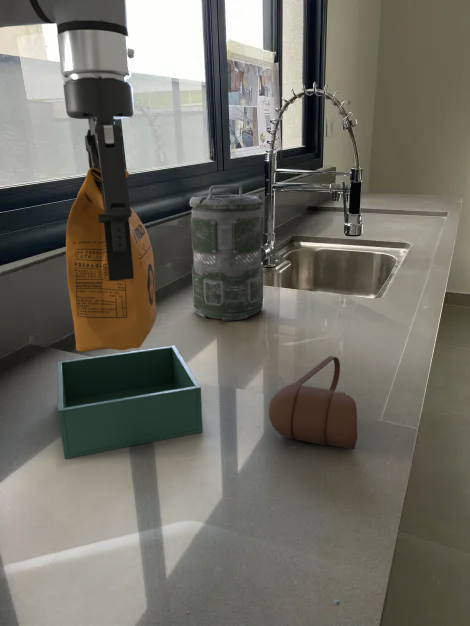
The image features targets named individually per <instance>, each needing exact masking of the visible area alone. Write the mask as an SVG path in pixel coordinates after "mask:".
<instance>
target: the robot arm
mask: <svg viewBox="0 0 470 626" xmlns="http://www.w3.org/2000/svg"><path fill="white" fill-rule="evenodd" d="M54 24H55V25H56V31H57V36H56V37H57V45H58V54H59V55H58V56H59V64H60V73H61V75H62V76H63V77H64V78H67V81H66V80H65V82H64V84H63V93H64V103H65V111H66V115H67V116H68V117H69V118H70V119H71V118H72V119H77V120H89V127H90V129H87V132H86V135H84V145H85V151H86V152H87V162H88V167H89V169H90V168H92V167H93V168H97V169H99V170H100V171H101V175H100V174H99V176H100V177H101V178H102V180H100V189H101V194H102V202H103V208H104V214H98V222H99V223H104V233H105V243H106V254H107V264H108V274H109V281H114V280H125V279H134V275H133V262H132V250H131V238H130V226H129V218H130V217H131V214H132V210H131V209H130V207H131V203H130V196H129V189H128V181H127V178H126V173H125V169H126V167H125V159H124V153H123V152H124V151H123V147H124V146H123V145H124V141H123V136H122V132H123V131H122V127H121V125H120V123H119V124H118V123H116V124H115V120H124V119H130V118H132V117H133V116H134V114H135V106H134V105H135V104H134V93H133V91H134V90H133V85H132V84H131V82H128V81H127V79H129V78H130V77H131V75H132V72H131V61H130V59H134V58H135V57H136V54H135V53H136V51H135V50H134V49H132V48H128V45H129V31H128V15H127V0H0V28H8V27H21V26H34V25H35V26H36V25H54Z"/></svg>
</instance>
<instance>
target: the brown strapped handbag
mask: <svg viewBox="0 0 470 626" xmlns="http://www.w3.org/2000/svg"><path fill="white" fill-rule="evenodd" d="M332 361H333V363H334V367H333V368H334V369H333V377H332V381H331V385H330V387H329V389H328V388H322V387H316V386H311V385H310V386H309V385H304V384H305V383H306V382H307V381H309V379H311V378H312V377H313V376H315V375H316V374H317V373H318V372H320V371H321V370H322V369H323V368H325V367H326V366H327V365H328V364H330V362H332ZM340 373H341V363H340V359H339V357H337V356H333V355H329V356H328V357H326V358H325V359H324V360H322V361H321V362H320V363H318V364H317V365H316V366H315V367H313V368H312V369H311V370H310V371H309V372H307V373H305V374H304V375H303V376H302V377H300V378H299V379H298V380H297V381H296V382H292V383H290V384H287V385H284V386H283V387H282V388H280V389H278V390H277V391H276V392H275V394H274V395H273V396H272V397H271V399H270V402H269V405H268V418H269V421H270V423H271V425H272V427H273V429H274V430H275V431H276V432H277V433H278V434H280V436H282V437H285V438H286V439H289V440H293V441H294V440H298V441H303V442H307V443H312V444H316V445H317V444H318V445H322V446H327V445H330V446H334V447H339V448H345V449H349V450H355V448H356V446H357V445H356V444H357V441H358V411H357V404H356V401H355V399H354V398H352V397H351V396H350V395H348V394H346V392H342V391H336V389H337V386H338V383H339V379H340Z"/></svg>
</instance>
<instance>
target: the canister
mask: <svg viewBox="0 0 470 626" xmlns="http://www.w3.org/2000/svg"><path fill="white" fill-rule="evenodd" d="M215 189H238V194H233V193H232V192H226V193H225V192H224V193H221V192H220V193H213V190H215ZM263 205H264V199H263V198H262V196H260V195H259V194H256V193H255V194H254V193H247V194H243V186H242V185H241V184H217V185H211V186H210V187H209V189H208V195H200V196H196V197H195V196H192V197H191V198H190V200H189V206H190V208H191V218H190V232H191V234H190V235H191V248H192V254H193V255H192V257H193V264H191V277H192V299H193V301H192V302H193V310H194V312H195V313H196V314H197V315H198V316H200V317H202V318H205V319H207V318H211V319H217V320H222V321H223V322H230V321H231V322H232V321H233V322H234V321H241V320H247V319H248V318H249V317H251V316H253V315H255V314H256V313H259V312H260V311H261V310H262V309H263V306H264V304H263V302H264V269H263V265H262V246H263V244H264V240H263V239H264V216H263V214H262V206H263Z"/></svg>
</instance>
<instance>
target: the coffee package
mask: <svg viewBox="0 0 470 626" xmlns="http://www.w3.org/2000/svg"><path fill="white" fill-rule="evenodd" d="M125 173H126V179H127V178H128V177H129V176H130V174H129V171H128V170H127V169H126V168H125ZM99 174H100V175H101V171H100V170H99V169H97V168H93V167H92V168H90V167H89V169H88V170H87V172H86V176H85V179H84V181H83V183H82V185H81V186H80V189H79V191H78V193H77V196H76V199H75V200H74V202H73V204H72V205H71V208H70V211H69V214H68V218H67V220H66V221H67V222H66V231H65V238H66V239H65V258H66V276H67V277H66V279H67V280H66V281H67V282H66V283H67V288H68V293H69V300H70V309H71V315H72V321H73V327H74V328H73V329H74V338H75V350H76V351H77V352H81V353H86V352H92V351H101V350H114V351H127V350H131V349H139V348H141V347H142V345H143V344H144V342H145V341H146V339H147V337H148V336H149V335H150V333H151V331H152V329H153V327H154V324H155V322H156V320H157V316H158V313H157V303H156V277H155V261H154V251H153V247H152V244H151V240H150V237H149V234H148V231H147V229H146V227H145V225H144V224H143V222H142V221H141V219H140V217H139V216H138V214H137V213H136V212H135V210H134V209H133V208H132V207H131V206H130V209H131V210H132V214H131V217H130V218H129V226H130V238H131V250H132V262H133V275H134V279H125V280H114V281H109V274H108V264H107V254H106V243H105V233H104V223H99V222H98V214H104V208H103V202H102V194H101V189H100V180H102V178H101V177H100V176H99Z"/></svg>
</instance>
